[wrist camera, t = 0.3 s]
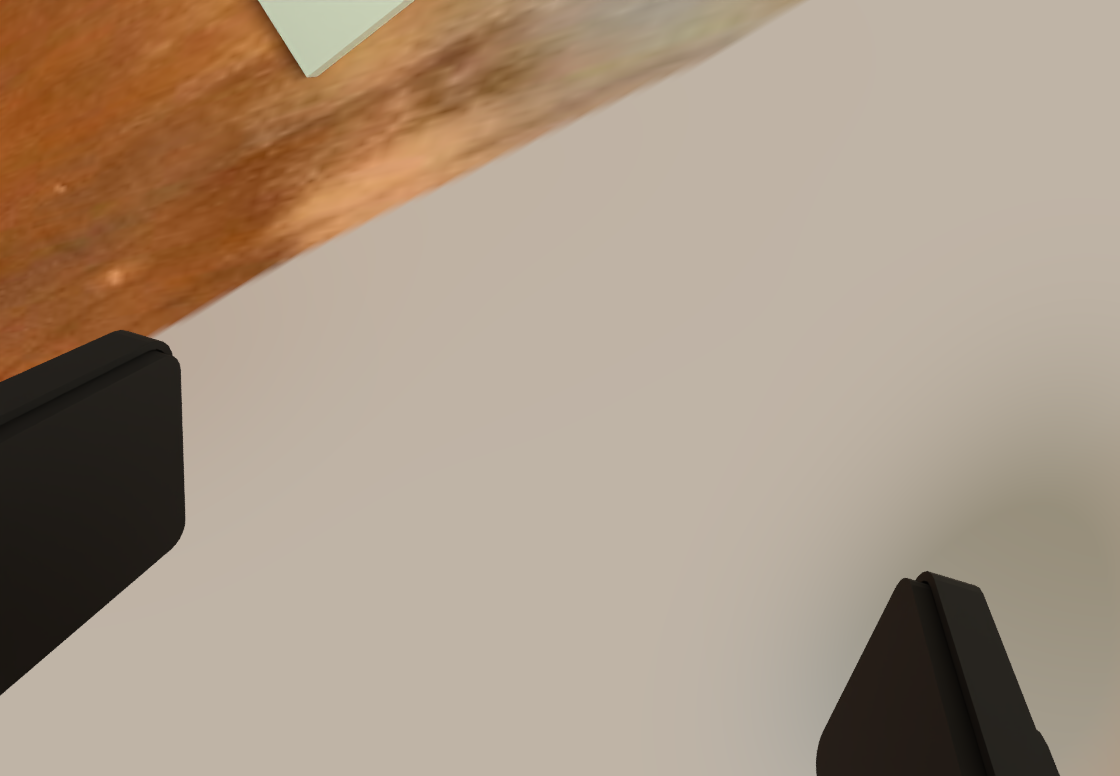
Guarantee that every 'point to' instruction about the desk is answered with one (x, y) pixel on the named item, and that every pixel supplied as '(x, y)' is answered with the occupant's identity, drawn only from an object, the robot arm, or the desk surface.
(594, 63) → the desk surface
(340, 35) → the mat
